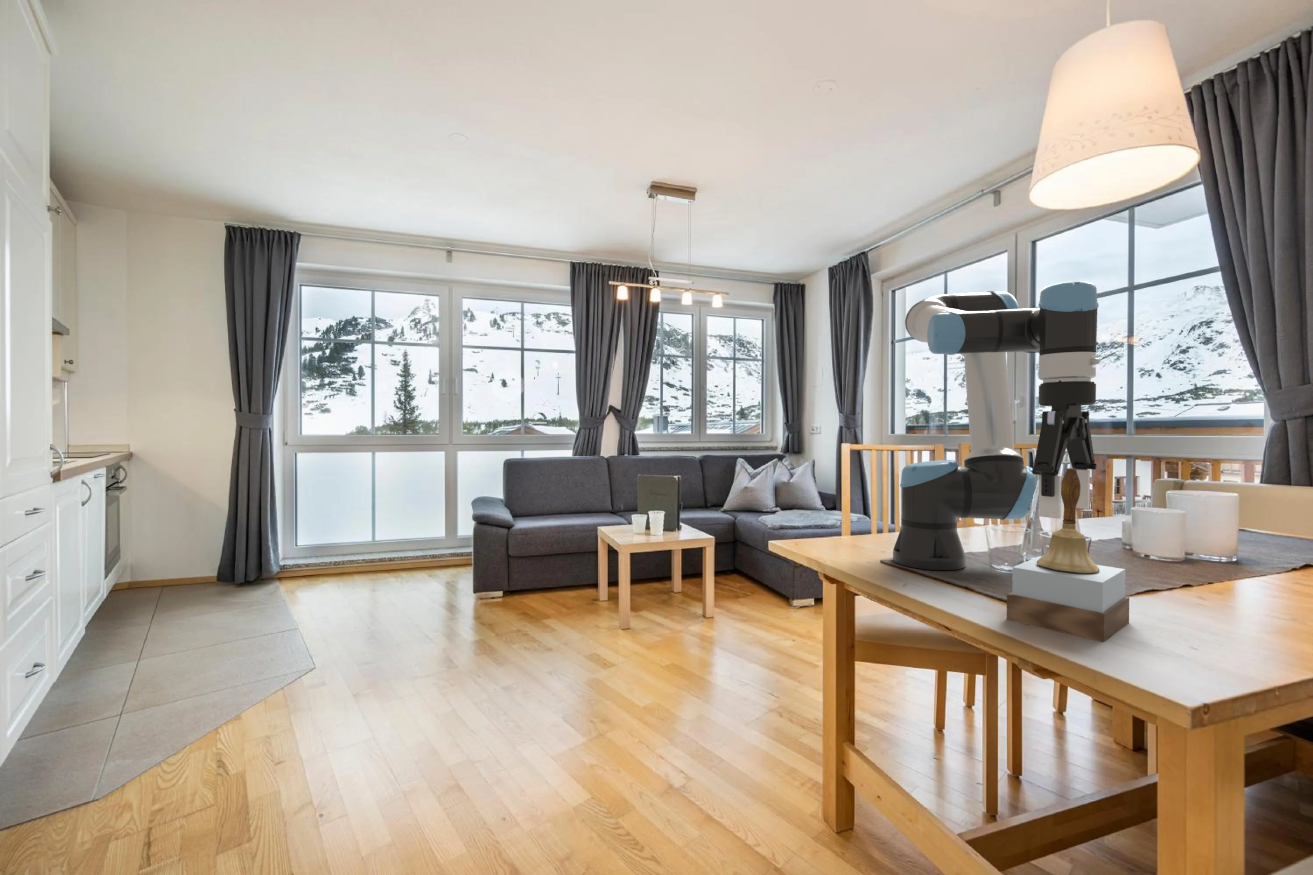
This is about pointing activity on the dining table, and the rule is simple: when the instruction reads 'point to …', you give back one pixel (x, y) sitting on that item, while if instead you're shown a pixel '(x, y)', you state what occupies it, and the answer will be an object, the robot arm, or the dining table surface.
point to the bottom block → (1069, 617)
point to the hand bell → (1069, 534)
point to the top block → (1069, 586)
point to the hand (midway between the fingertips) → (1065, 512)
